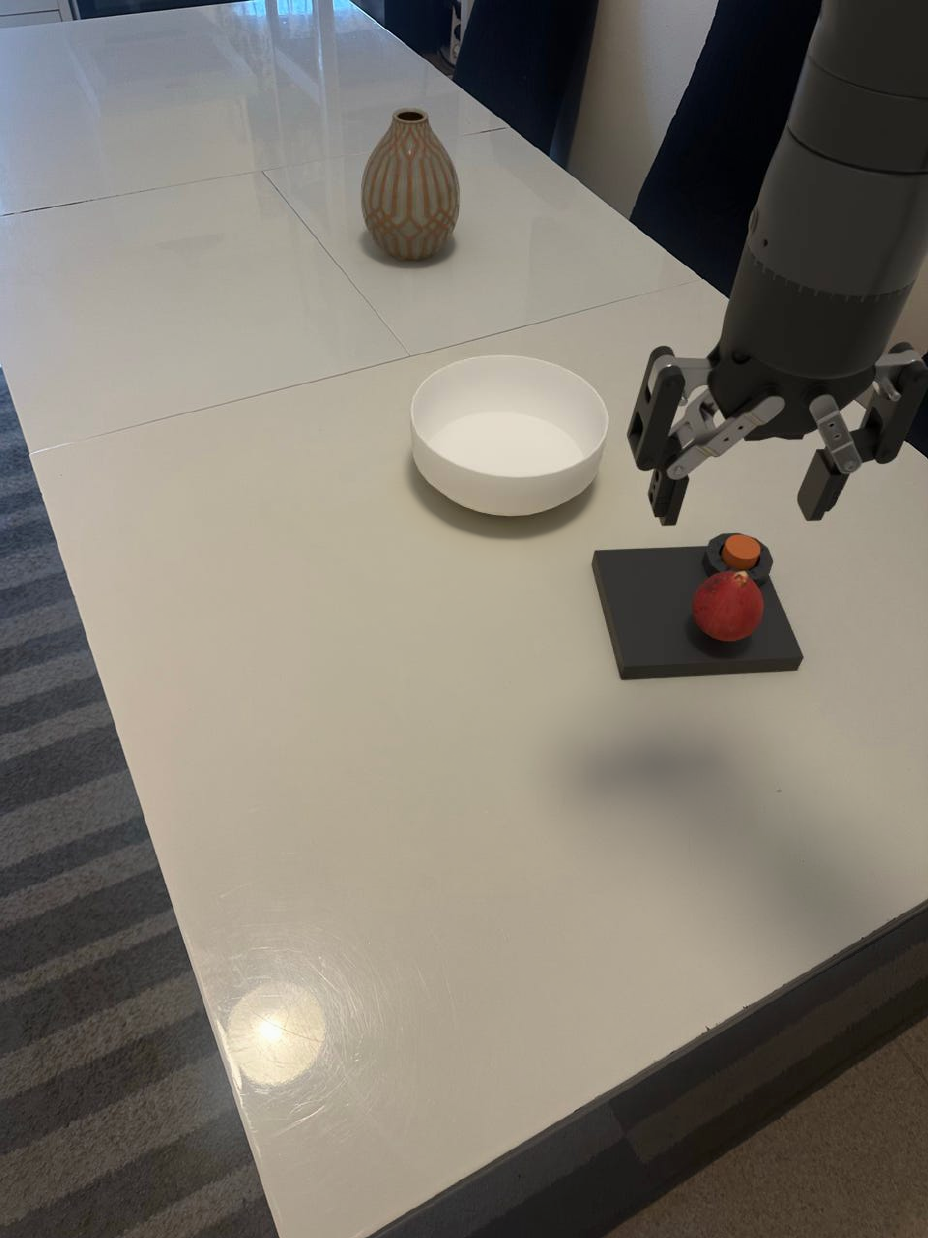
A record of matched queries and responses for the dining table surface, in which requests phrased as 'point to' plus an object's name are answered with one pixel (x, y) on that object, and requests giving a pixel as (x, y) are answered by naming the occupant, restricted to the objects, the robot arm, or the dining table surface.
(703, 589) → the pomegranate
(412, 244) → the vase
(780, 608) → the scale
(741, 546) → the button
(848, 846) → the dining table surface
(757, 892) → the dining table surface
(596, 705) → the dining table surface
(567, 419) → the bowl
